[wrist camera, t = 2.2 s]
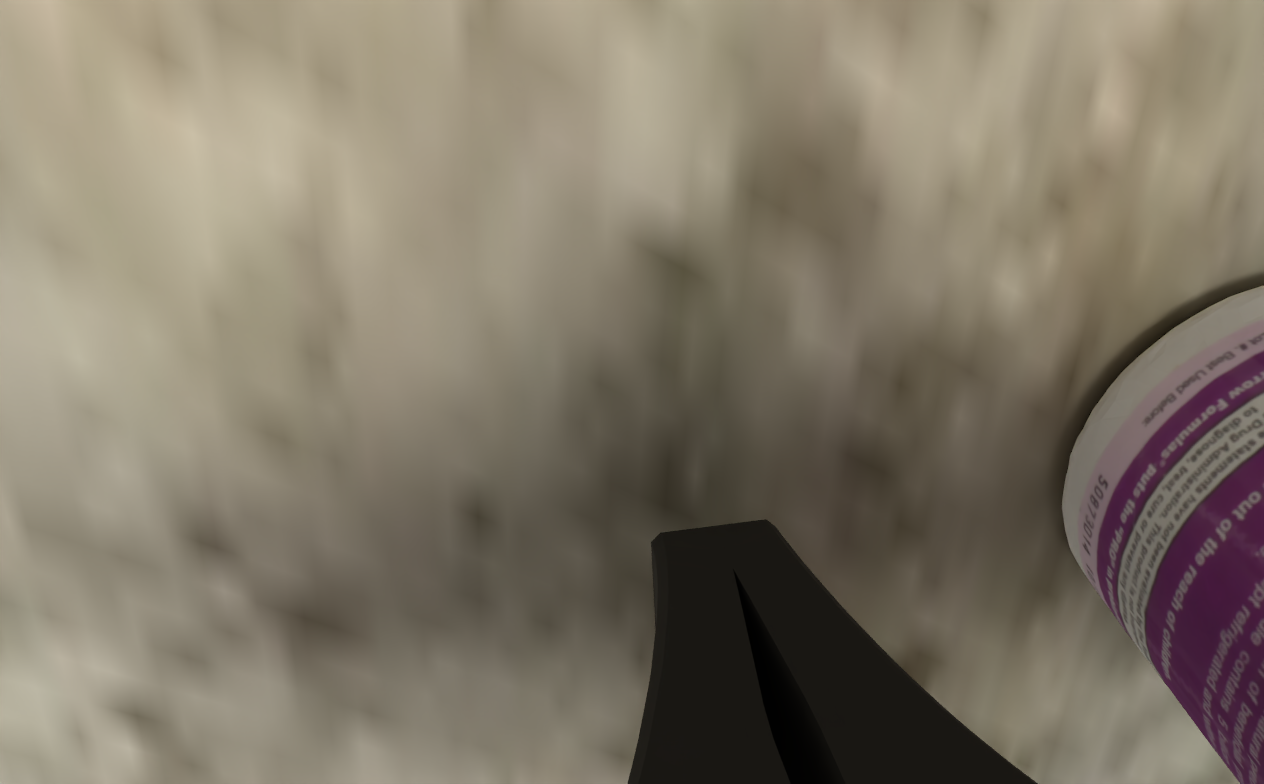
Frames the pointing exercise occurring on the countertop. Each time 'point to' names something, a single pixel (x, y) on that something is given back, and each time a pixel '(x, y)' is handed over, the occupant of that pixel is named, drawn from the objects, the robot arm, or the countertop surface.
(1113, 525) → the pill bottle
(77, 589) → the countertop surface
